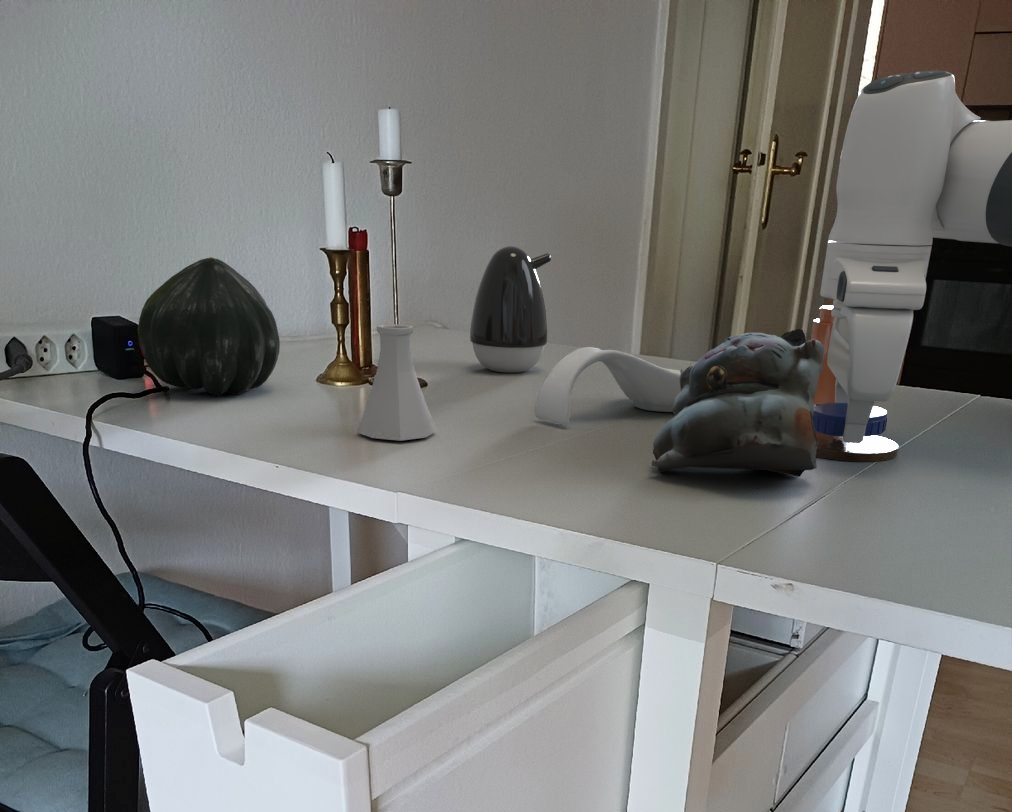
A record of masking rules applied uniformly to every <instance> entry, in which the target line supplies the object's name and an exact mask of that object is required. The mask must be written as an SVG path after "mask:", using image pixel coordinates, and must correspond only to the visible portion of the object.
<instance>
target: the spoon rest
mask: <svg viewBox="0 0 1012 812" xmlns="http://www.w3.org/2000/svg"><path fill="white" fill-rule="evenodd" d="M598 362H602V363H603V364H604V366H606V368H607V369H608V370H609V372H610V373H611V375H612V378H614V380H615V382H616V383H617V385H618V386H619V388H620V389H621V391H622V392H623V394H624V395H625V396H626V397H627V398H628V399H629V400H630V401H631V402H632V404H633V406H634V407H636V408H638V409H641V410H645V411H649V412H650V411H651V412H659V413H660V412H661V413H663V412H664V413H673V410H672V409H673V405H674V399H675V398H676V396H677V395H678V394H679V393H680V392H681V388H680V374H681V372H680V370H681V369H680V370H679V369H673V368H664V367H661V366H659V365H656V364H654V363H652V362H649V361H647V360H645V359H642V358H640V357H638V356H635V355H633V354H630V353H627V352H624V351H621V350H616V349H604V350H602V349H601V348H598V347H595V346H594V347H593V346H584V347H580V348H576V349H575V350H573V351H571V352H569V353H568V354H566V355H565V356H564V357H563V358H561V359H560V360H559V361H558V362H557V363H556V364H555V366H553V367H552V369H551V370H550V371H549V373H548V374H547V376H546V377H545V379H544V382H543V384H542V385H541V388H540V390H539V393H538V396H537V399H536V403H535V409H534V416H535V417H536V418H537V419H539V420H542V421H546V422H549V423H554V424H558V425H565V426H566V425H568V424H569V422H570V410H571V409H570V408H571V398H572V393H573V388H574V386H575V383H576V381H577V379H578V377H579V375H580V374H581V373H582V372H583V371H584V370H586V369H587V368H588V367H589V366H591V365H593V364H595V363H598Z"/></svg>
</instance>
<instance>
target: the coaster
mask: <svg viewBox="0 0 1012 812" xmlns="http://www.w3.org/2000/svg"><path fill="white" fill-rule="evenodd" d="M815 433H816V437H817V449H816V456H815V458H820V459H827V460H834V461H842V462H858V463H859V462H863V463H864V462H866V463H869V462H882V461H883V462H884V461H888V460H891V459H894V458H896V457H897V456H898V452H899V444H898V443H896V442H895V441H893V440H891V439H888V438H887V437H883V436H879V435H875V436H868V437H864V440H863V442H861V443H859V444H856V443H846V442H845V441H844V440H843V437H842V436H834V435H828V434H823V433H819V432H816V431H815Z"/></svg>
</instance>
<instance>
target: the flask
mask: <svg viewBox="0 0 1012 812" xmlns="http://www.w3.org/2000/svg"><path fill="white" fill-rule="evenodd" d="M376 332H377V334H379V338H380V339H379V340H380V342H379V343H380V348H379V349H380V350H379V357H378V362H377V369H376V373H375V376H374V379H373V382H372V385H371V388H370V392H369V395H368V399H367V401H366V403H365V406H364V410H363V412H362V416H361V418H360V422H359V424H358V427H357V430H356V433H358V434H361V435H364V436H366V437H369V438H371V439H379V440H389V441H400V442H401V441H408V440H416V439H424V438H428V437H430V436H431V435H433V434H435V433H436V432H437V429H436V425H435V423H434V421H433V417H432V415H431V413H430V410H429V407H428V405H427V402H426V400H425V396H424V394H423V391H422V387H421V384H420V382H419V379H418V377H417V373H416V371H415V366H414V360H413V356H412V349H411V335H412V334H413V333H414V326H412V325H407V324H398V323H397V324H396V323H391V324H390V323H389V324H381V325H377V326H376Z"/></svg>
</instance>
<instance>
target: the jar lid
mask: <svg viewBox="0 0 1012 812" xmlns="http://www.w3.org/2000/svg"><path fill="white" fill-rule="evenodd" d="M847 408H848V404H847V403H826V404H820V405H819V404H815V405H814V410H813V423H814V429H815V431H816V432H819V433H823V434H828V435H834V436H842V432H843V426H844V420H846V414H847ZM887 423H888V411H887V410H886V409H884V408H882V407H879V406H875V405H874V406H873V409H872V412H871V415H870V417H869V420H868V422H867V425H866V430H865V435H864V437H868V436H879V435H882V434H883V433H884V432H885V431H886V430H887V429H886V428H887Z"/></svg>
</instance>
